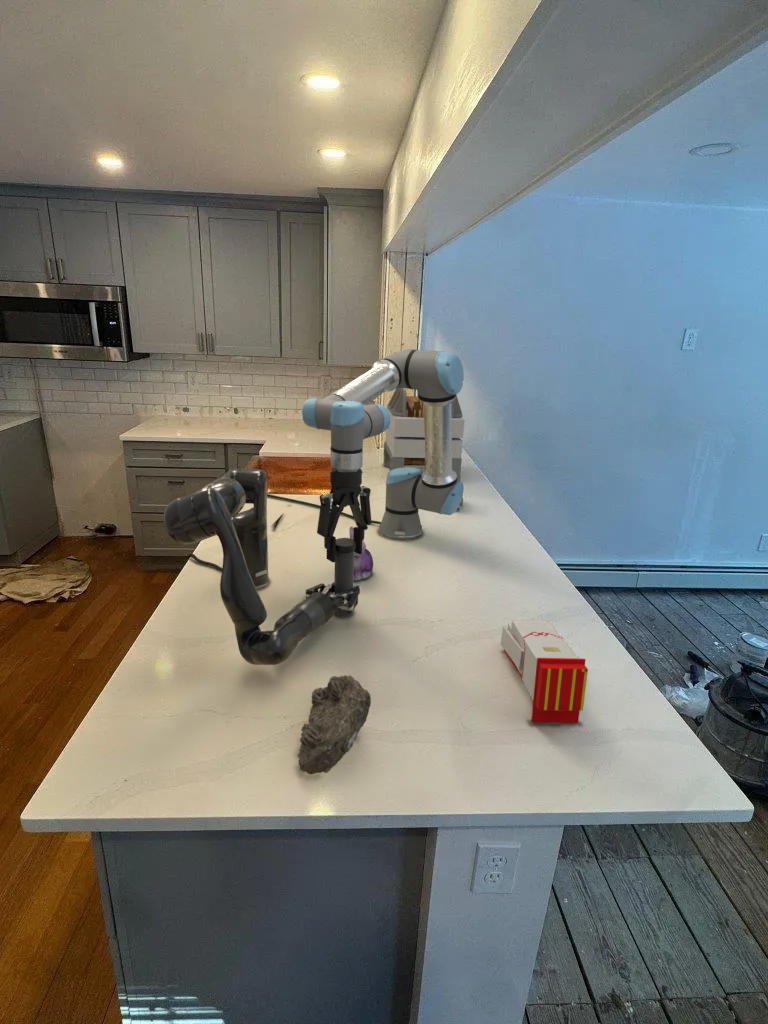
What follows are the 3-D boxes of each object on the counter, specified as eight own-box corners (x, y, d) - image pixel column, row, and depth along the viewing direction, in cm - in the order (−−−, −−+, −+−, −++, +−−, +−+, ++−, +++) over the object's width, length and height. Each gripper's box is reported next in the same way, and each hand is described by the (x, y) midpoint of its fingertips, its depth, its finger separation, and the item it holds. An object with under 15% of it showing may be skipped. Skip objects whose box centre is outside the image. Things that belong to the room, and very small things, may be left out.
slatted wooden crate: (382, 463, 289) (386, 382, 275) (445, 464, 293) (451, 384, 279) (390, 482, 257) (394, 392, 243) (460, 483, 261) (468, 394, 247)
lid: (360, 549, 140) (360, 543, 140) (341, 554, 137) (341, 548, 137) (347, 541, 145) (347, 536, 144) (328, 546, 141) (328, 540, 141)
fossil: (305, 676, 114) (363, 644, 109) (335, 707, 117) (393, 676, 112) (276, 768, 94) (345, 733, 89) (313, 802, 97) (382, 770, 92)
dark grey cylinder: (333, 616, 145) (334, 547, 138) (334, 607, 149) (335, 540, 143) (351, 617, 145) (353, 548, 138) (353, 608, 149) (354, 540, 143)
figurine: (351, 584, 162) (352, 535, 157) (337, 569, 170) (338, 523, 165) (380, 578, 166) (383, 531, 161) (365, 564, 174) (367, 519, 169)
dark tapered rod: (290, 508, 223) (292, 504, 223) (272, 532, 197) (275, 527, 196) (286, 505, 223) (289, 501, 223) (268, 529, 197) (271, 525, 196)
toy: (547, 606, 135) (596, 665, 106) (541, 658, 138) (589, 729, 108) (496, 604, 134) (532, 664, 105) (492, 657, 137) (526, 729, 108)
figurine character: (463, 515, 225) (458, 499, 238) (465, 497, 221) (460, 482, 235) (446, 514, 224) (442, 498, 238) (448, 497, 221) (444, 482, 235)
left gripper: (337, 608, 129) (373, 579, 143) (286, 592, 135) (326, 566, 149) (336, 636, 131) (372, 606, 145) (286, 619, 137) (326, 591, 152)
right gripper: (369, 458, 143) (366, 542, 151) (300, 470, 130) (301, 561, 138) (389, 465, 138) (385, 551, 145) (319, 478, 125) (318, 572, 133)
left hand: (348, 586), depth 147 cm, fingers closed on dark grey cylinder, 5 cm apart
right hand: (344, 556), depth 142 cm, fingers open, 8 cm apart
